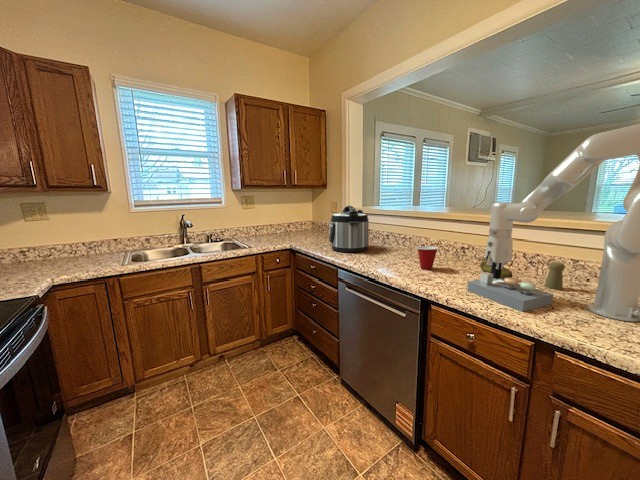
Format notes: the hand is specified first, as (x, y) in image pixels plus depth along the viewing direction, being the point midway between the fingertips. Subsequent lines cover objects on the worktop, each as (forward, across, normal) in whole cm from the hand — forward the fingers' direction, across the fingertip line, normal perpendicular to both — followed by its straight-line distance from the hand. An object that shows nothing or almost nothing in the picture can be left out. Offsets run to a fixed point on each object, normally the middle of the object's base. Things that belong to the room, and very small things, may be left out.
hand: (495, 277), depth 110 cm
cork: (+6, +28, -6) cm, 29 cm away
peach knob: (+3, -1, -7) cm, 8 cm away
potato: (+6, +18, +13) cm, 23 cm away
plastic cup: (+6, -1, +38) cm, 39 cm away
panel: (+6, -1, -6) cm, 8 cm away
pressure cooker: (+6, -16, +99) cm, 101 cm away
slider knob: (+2, -5, 0) cm, 5 cm away
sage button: (+3, -1, -13) cm, 13 cm away
